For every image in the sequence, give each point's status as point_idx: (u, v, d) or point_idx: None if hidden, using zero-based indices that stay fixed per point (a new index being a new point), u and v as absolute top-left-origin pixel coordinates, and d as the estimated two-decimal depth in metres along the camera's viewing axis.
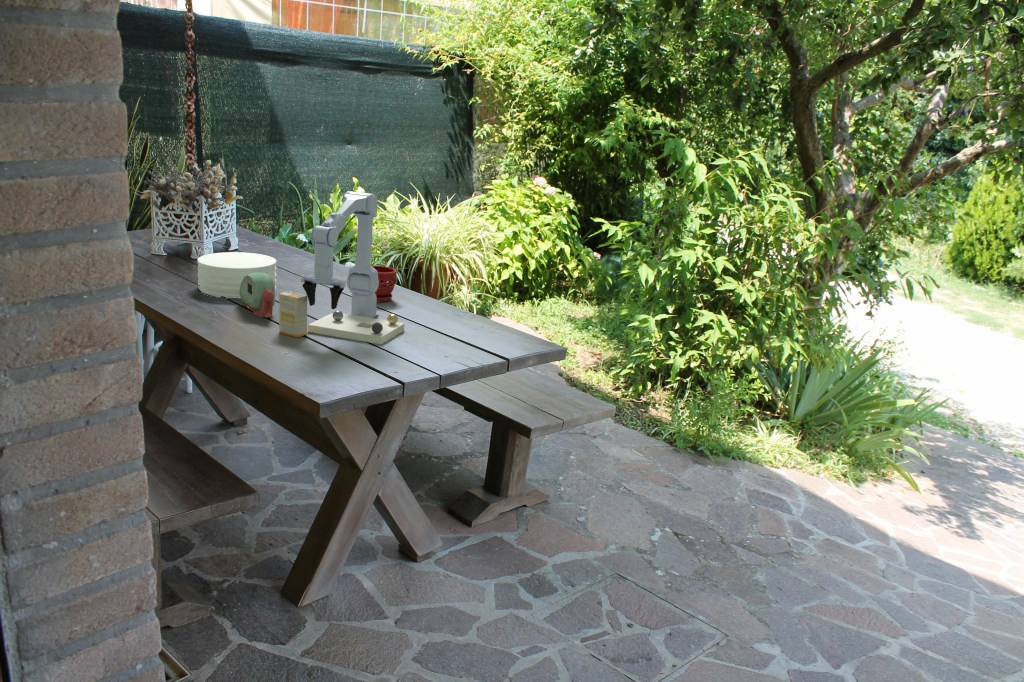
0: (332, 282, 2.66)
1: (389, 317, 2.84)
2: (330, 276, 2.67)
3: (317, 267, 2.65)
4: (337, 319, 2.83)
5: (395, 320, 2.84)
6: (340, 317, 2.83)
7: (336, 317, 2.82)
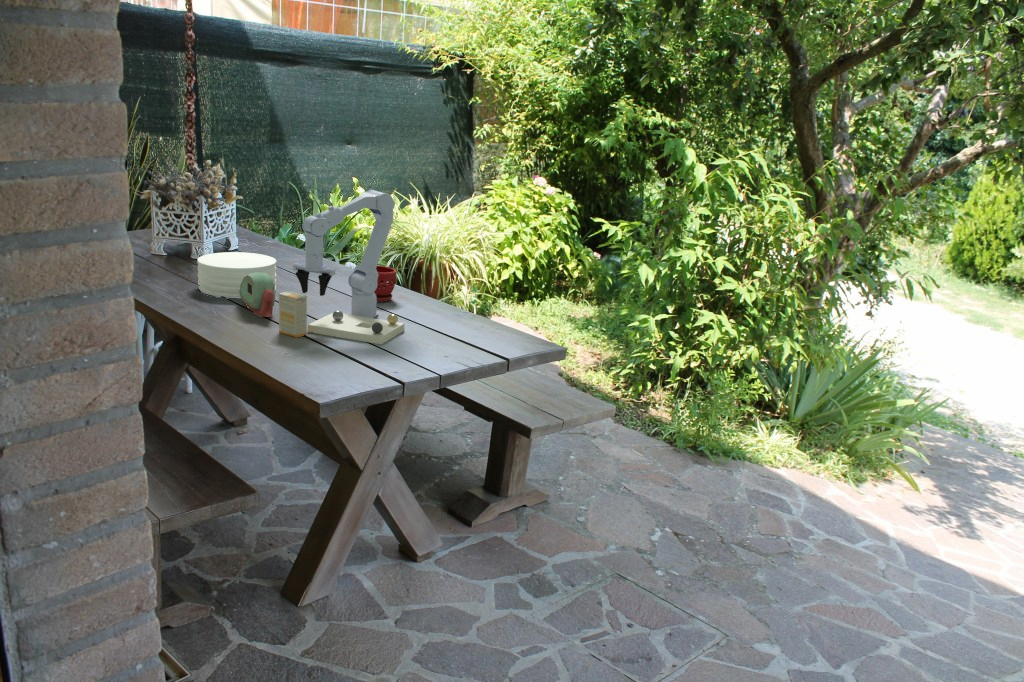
0: (322, 270, 2.79)
1: (389, 317, 2.84)
2: (320, 264, 2.80)
3: (308, 256, 2.78)
4: (337, 319, 2.83)
5: (395, 320, 2.84)
6: (340, 317, 2.83)
7: (336, 317, 2.82)
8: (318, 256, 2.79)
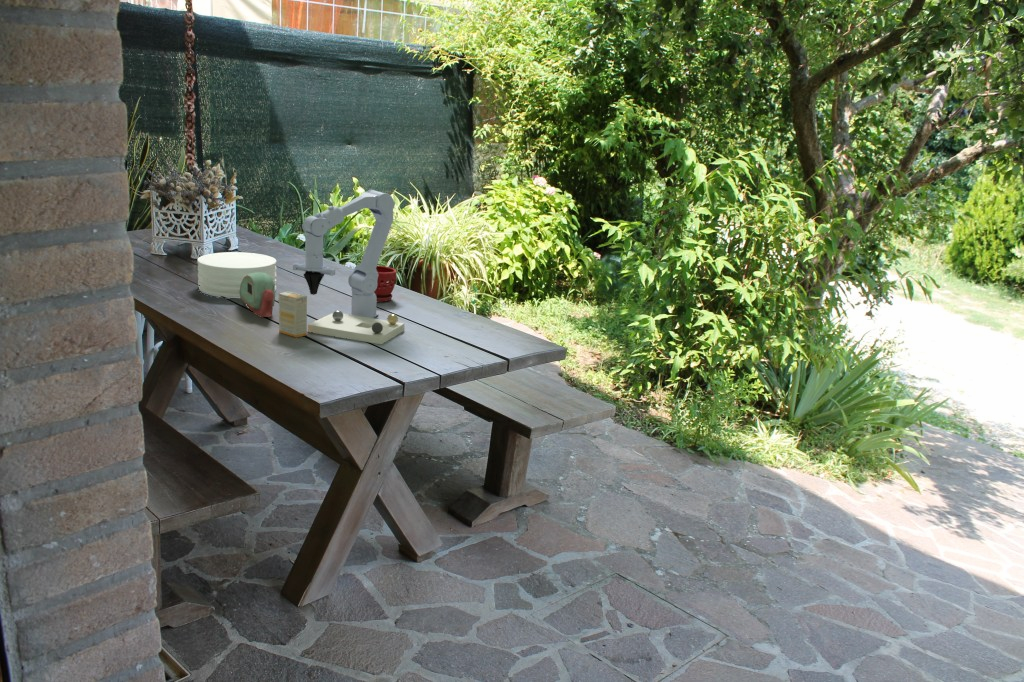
0: (322, 270, 2.79)
1: (389, 317, 2.84)
2: (320, 264, 2.80)
3: (308, 256, 2.78)
4: (337, 319, 2.83)
5: (395, 320, 2.84)
6: (340, 317, 2.83)
7: (336, 317, 2.82)
8: (318, 256, 2.79)
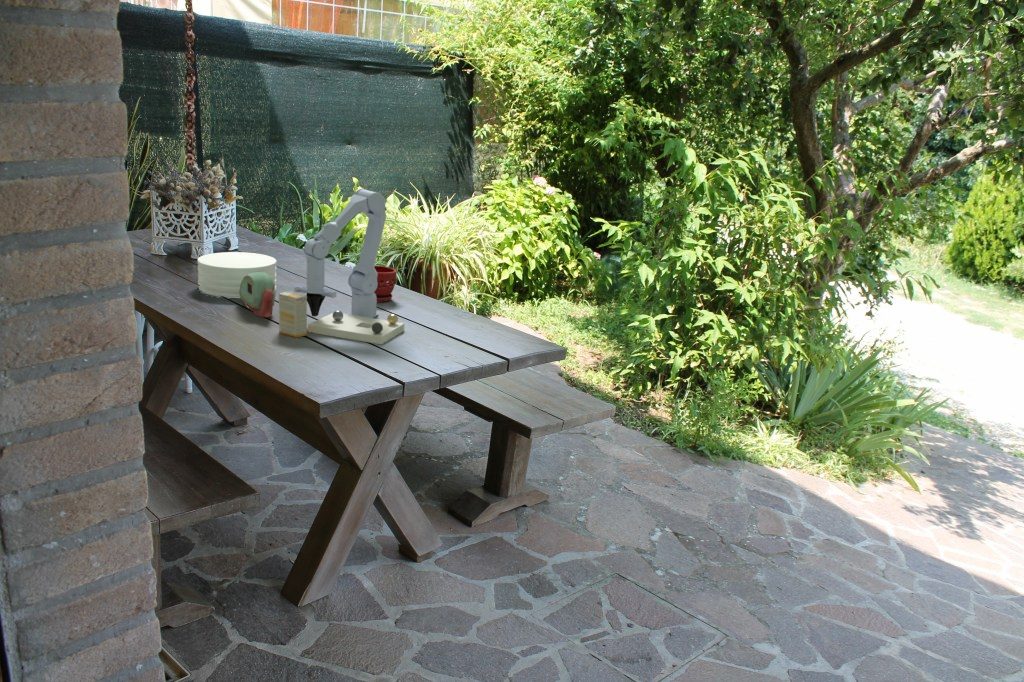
0: (323, 292, 2.81)
1: (389, 317, 2.84)
2: (321, 287, 2.82)
3: (309, 278, 2.80)
4: (337, 319, 2.83)
5: (395, 320, 2.84)
6: (340, 317, 2.83)
7: (336, 317, 2.82)
8: (319, 278, 2.81)
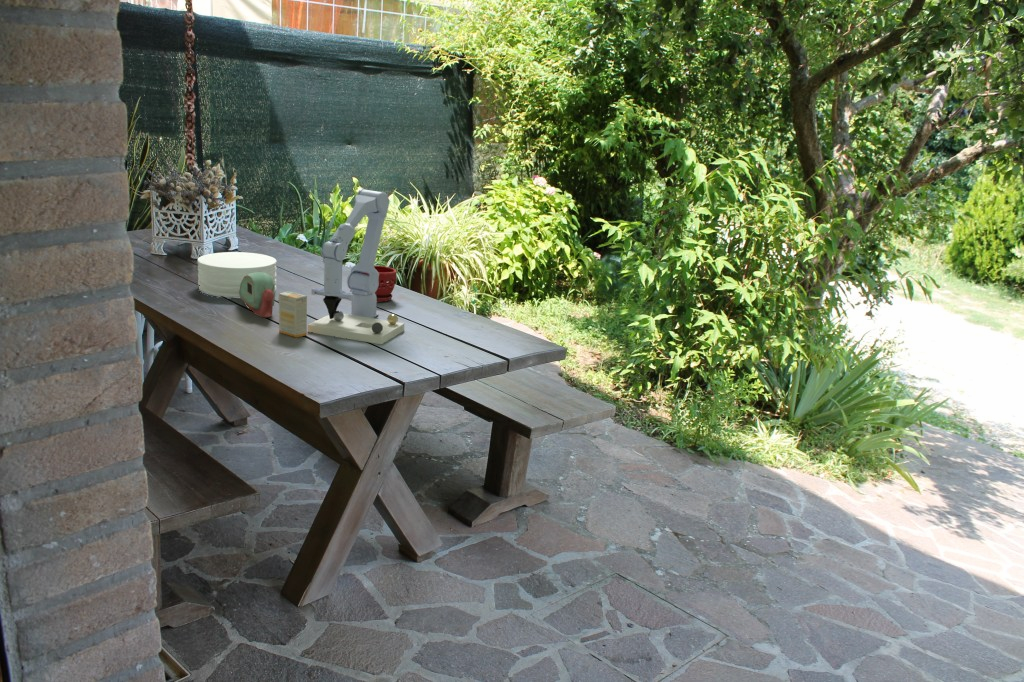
0: (341, 295, 2.80)
1: (389, 317, 2.84)
2: (339, 289, 2.81)
3: (327, 281, 2.79)
4: (337, 319, 2.83)
5: (395, 320, 2.84)
6: (340, 318, 2.83)
7: (336, 317, 2.82)
8: (337, 281, 2.79)
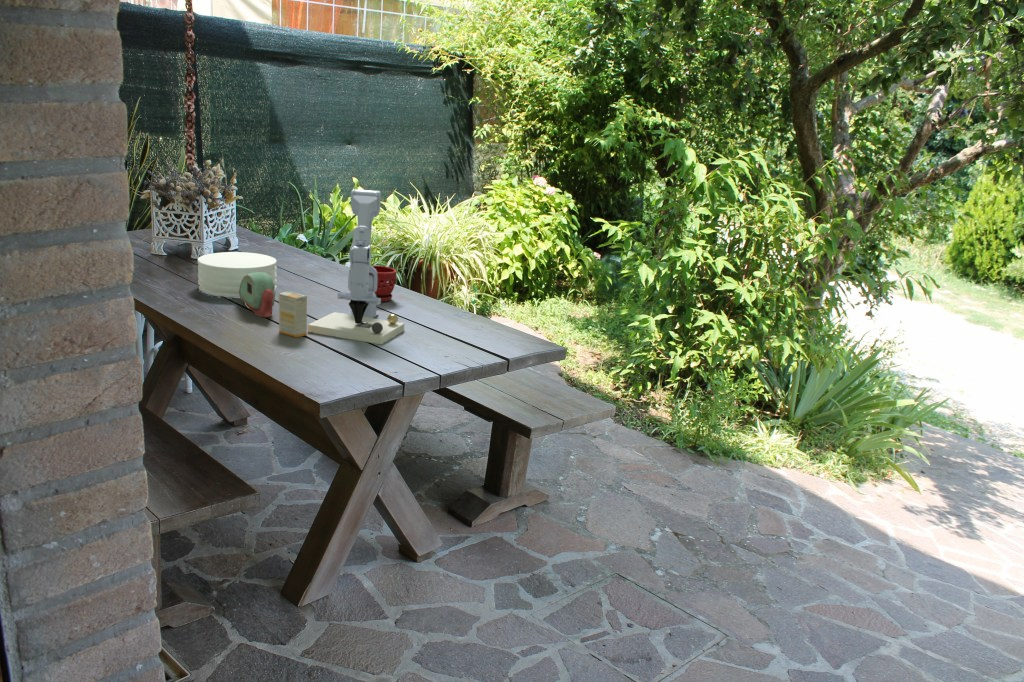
0: (368, 299, 2.77)
1: (389, 317, 2.84)
2: (366, 293, 2.78)
3: (353, 285, 2.76)
4: (364, 325, 2.81)
5: (395, 320, 2.84)
6: (363, 322, 2.82)
7: (361, 326, 2.82)
8: (364, 285, 2.77)
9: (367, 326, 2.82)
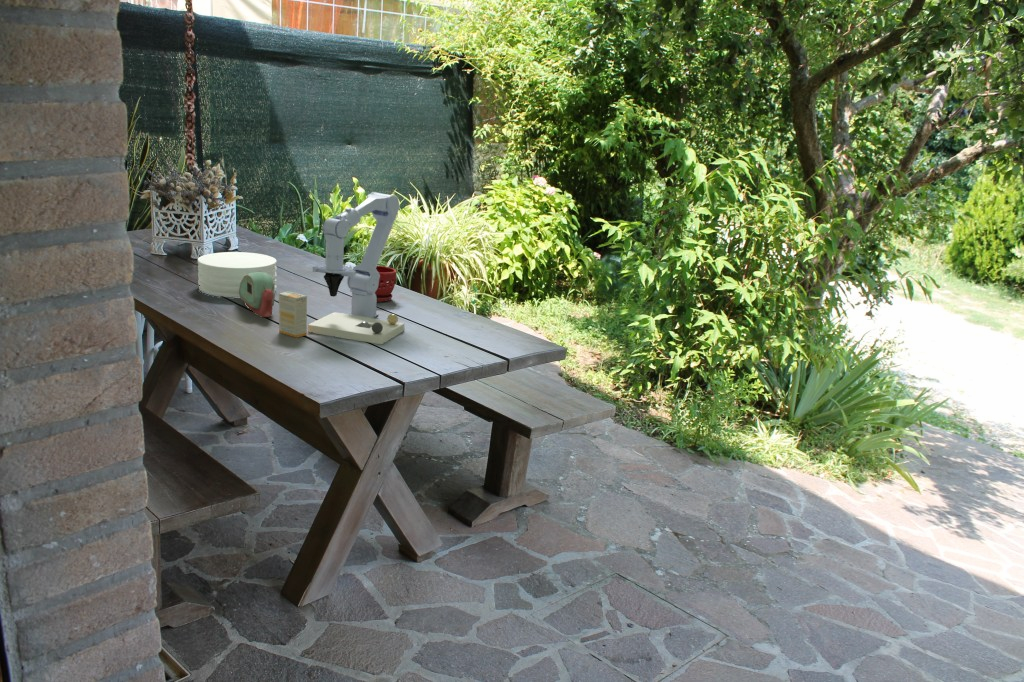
0: (343, 272, 2.79)
1: (389, 317, 2.84)
2: (341, 266, 2.80)
3: (328, 257, 2.78)
4: (364, 325, 2.81)
5: (395, 320, 2.84)
6: (363, 322, 2.82)
7: (361, 326, 2.82)
8: (339, 258, 2.79)
9: (367, 326, 2.82)
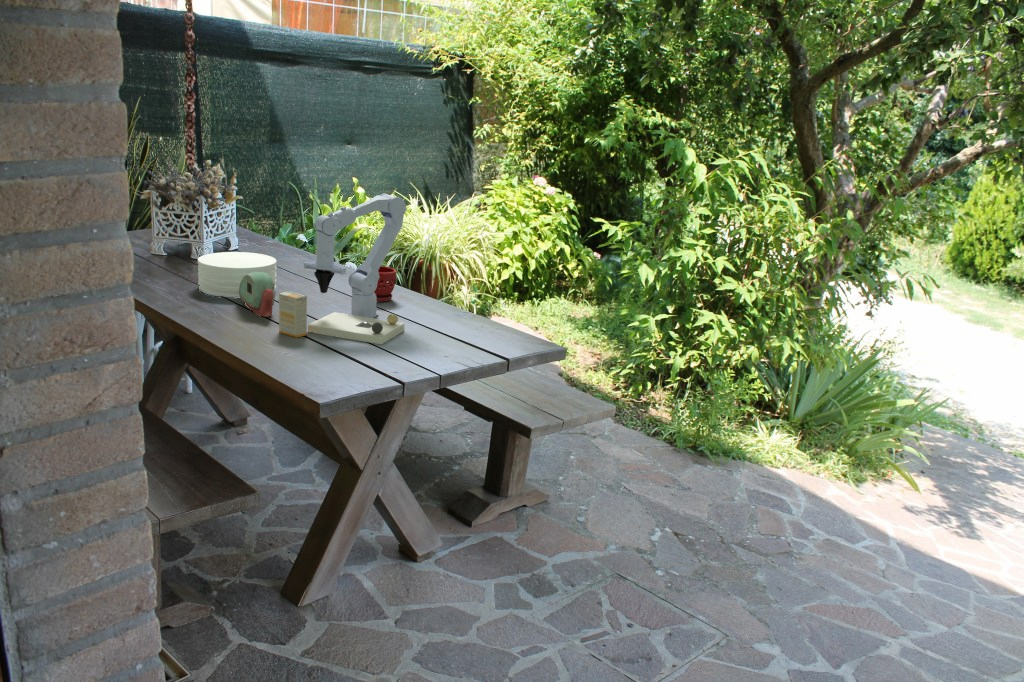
0: (333, 269, 2.82)
1: (389, 317, 2.84)
2: (331, 263, 2.83)
3: (319, 254, 2.81)
4: (365, 325, 2.81)
5: (395, 320, 2.84)
6: (364, 322, 2.82)
7: (362, 326, 2.81)
8: (329, 255, 2.82)
9: (368, 327, 2.82)
